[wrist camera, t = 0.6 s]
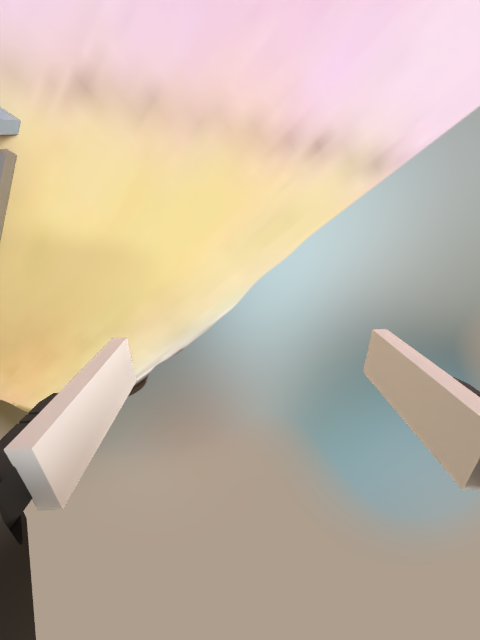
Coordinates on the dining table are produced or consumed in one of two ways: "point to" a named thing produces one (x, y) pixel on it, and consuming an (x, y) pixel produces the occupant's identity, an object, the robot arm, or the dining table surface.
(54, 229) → the dining table surface
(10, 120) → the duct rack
